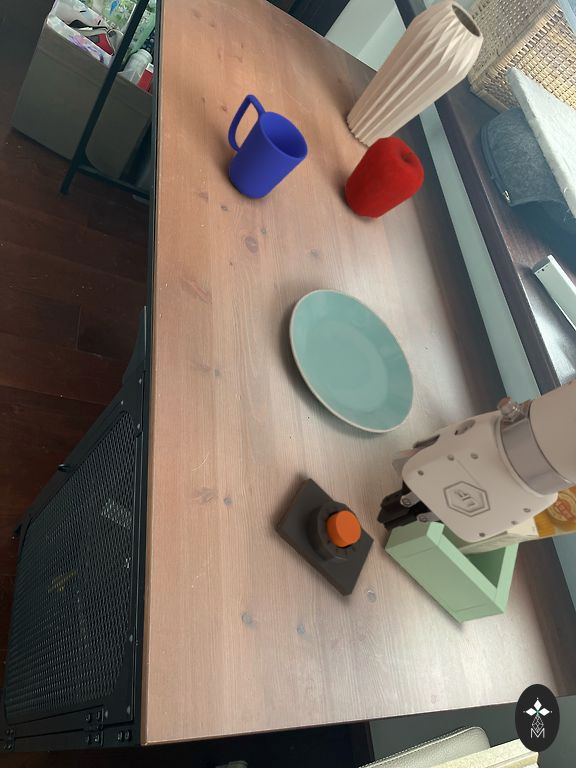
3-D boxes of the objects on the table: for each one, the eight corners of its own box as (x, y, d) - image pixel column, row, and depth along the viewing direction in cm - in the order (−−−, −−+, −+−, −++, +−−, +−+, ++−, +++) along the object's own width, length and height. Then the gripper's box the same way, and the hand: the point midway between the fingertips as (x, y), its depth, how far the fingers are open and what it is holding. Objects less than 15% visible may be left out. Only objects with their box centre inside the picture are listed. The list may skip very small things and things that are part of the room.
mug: (236, 138, 95) (273, 89, 88) (277, 202, 94) (317, 157, 87) (197, 140, 89) (233, 87, 82) (241, 208, 88) (281, 161, 81)
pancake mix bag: (478, 440, 98) (652, 359, 79) (512, 561, 90) (717, 503, 71) (451, 434, 95) (627, 347, 75) (483, 560, 86) (691, 499, 67)
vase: (339, 139, 115) (447, 21, 97) (332, 93, 122) (431, -26, 103) (391, 169, 122) (500, 64, 104) (381, 124, 129) (482, 18, 111)
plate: (249, 343, 77) (262, 332, 75) (325, 275, 93) (337, 265, 91) (365, 473, 79) (380, 465, 77) (419, 385, 95) (433, 376, 93)
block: (367, 542, 74) (384, 535, 72) (344, 596, 69) (362, 591, 67) (304, 480, 73) (320, 472, 71) (275, 530, 67) (291, 523, 65)
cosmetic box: (453, 528, 84) (530, 501, 75) (461, 561, 82) (541, 537, 73) (421, 524, 80) (498, 496, 72) (428, 559, 78) (509, 534, 70)
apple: (387, 222, 112) (444, 173, 103) (360, 234, 104) (418, 181, 95) (354, 175, 112) (408, 121, 103) (324, 183, 105) (379, 126, 95)
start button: (354, 529, 70) (364, 525, 69) (343, 553, 68) (354, 549, 67) (333, 508, 70) (343, 503, 69) (321, 532, 67) (331, 527, 66)
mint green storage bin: (480, 539, 88) (522, 526, 83) (459, 623, 78) (505, 613, 73) (414, 472, 85) (453, 455, 81) (384, 549, 75) (426, 534, 71)
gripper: (470, 413, 47) (321, 491, 60) (593, 541, 49) (425, 591, 62) (488, 360, 53) (348, 442, 65) (598, 478, 55) (442, 536, 67)
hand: (386, 514), depth 63 cm, fingers closed
